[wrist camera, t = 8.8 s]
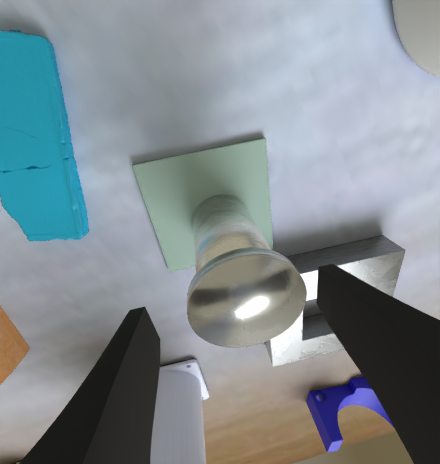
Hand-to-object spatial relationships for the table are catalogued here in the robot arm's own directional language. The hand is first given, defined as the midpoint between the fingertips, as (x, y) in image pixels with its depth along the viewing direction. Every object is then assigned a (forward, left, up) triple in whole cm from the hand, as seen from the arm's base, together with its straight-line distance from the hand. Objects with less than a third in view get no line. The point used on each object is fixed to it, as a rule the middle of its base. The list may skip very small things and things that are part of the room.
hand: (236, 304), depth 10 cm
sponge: (-10, +7, -10) cm, 16 cm away
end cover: (+1, -1, -9) cm, 9 cm away
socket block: (+9, -12, -10) cm, 18 cm away
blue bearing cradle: (+14, -32, -10) cm, 37 cm away
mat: (0, 0, -10) cm, 10 cm away
